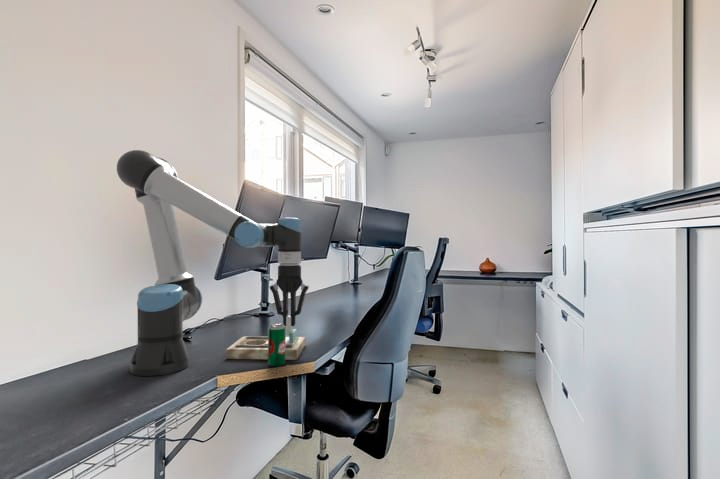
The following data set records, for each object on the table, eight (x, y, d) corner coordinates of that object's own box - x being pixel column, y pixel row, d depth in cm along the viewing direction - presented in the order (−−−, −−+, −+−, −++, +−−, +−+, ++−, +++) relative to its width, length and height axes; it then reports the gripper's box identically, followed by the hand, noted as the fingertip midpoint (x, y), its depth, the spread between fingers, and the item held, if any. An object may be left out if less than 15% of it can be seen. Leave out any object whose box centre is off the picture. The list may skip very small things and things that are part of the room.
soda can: (281, 368, 114) (281, 326, 114) (265, 366, 115) (265, 325, 115) (288, 362, 119) (288, 323, 118) (272, 361, 120) (272, 322, 119)
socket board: (226, 358, 122) (226, 347, 122) (243, 344, 138) (243, 334, 138) (296, 359, 121) (296, 348, 121) (305, 345, 137) (305, 335, 137)
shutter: (264, 346, 125) (264, 334, 125) (271, 338, 134) (271, 327, 134) (292, 346, 125) (292, 334, 125) (297, 339, 134) (297, 328, 134)
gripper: (267, 265, 126) (266, 338, 126) (307, 265, 125) (306, 338, 126) (272, 263, 133) (272, 332, 133) (310, 263, 133) (310, 333, 133)
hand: (289, 335), depth 129 cm, fingers closed
